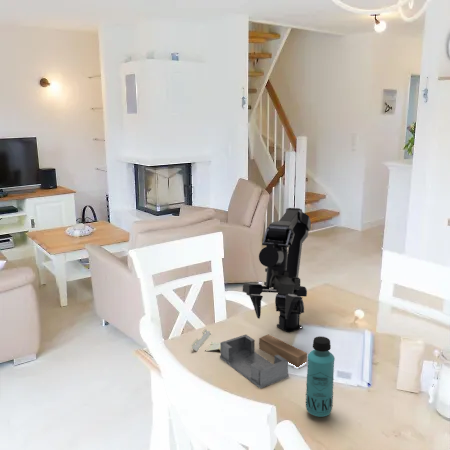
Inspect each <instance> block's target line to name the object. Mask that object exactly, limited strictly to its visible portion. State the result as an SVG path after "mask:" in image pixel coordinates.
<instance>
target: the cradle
mask: <svg viewBox="0 0 450 450" xmlns="http://www.w3.org/2000/svg"><path fill="white" fill-rule="evenodd" d="M255 341H256V340H255V338H252V337H251V336H249V335H248V334H242V335H240V336H237V337H234V338H230V339H227V340H224V341H222V342H219V343H220V346H221V351H220V355H219V358H220V359H221V360H222V361H224V363H226V364H227V365H229V367H231V368H232V369H234V370H235V371H237V372H238V374H240V375H242V376H243V377H244V378H245V379H246V380H248V381H250V382H251V383H252V384H253V385H255V386H256V387H257V388H259V389H263V388H265V387H268V386H271V385H273V384H275V383H278V382H280V381H282V380H286V379H288V378H290V375H289V365H288V361H287V360H286V359H284V358H282V357H281V356H279V355H275V356H274V357H273V358H274V359H273V361H274V363H272V362H271V361H269V360H268V359H267V358H264V356H262V355H260V354H259V353H257V352H256V351H255V349H256V348H255V347H256V346H255V345H256V344H255Z"/></svg>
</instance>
